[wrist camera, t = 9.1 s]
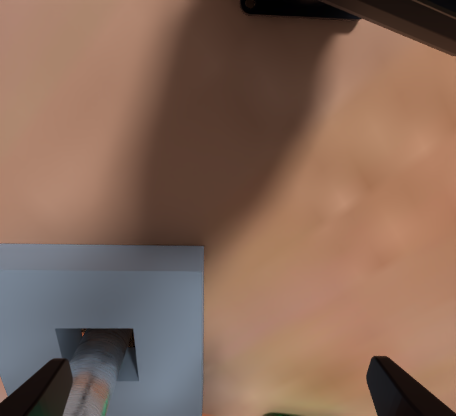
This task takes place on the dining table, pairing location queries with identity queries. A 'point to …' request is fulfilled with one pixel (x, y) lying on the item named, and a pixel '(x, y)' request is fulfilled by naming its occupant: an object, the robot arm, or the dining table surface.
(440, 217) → the dining table surface
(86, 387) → the pin
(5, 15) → the dining table surface
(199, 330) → the socket plate
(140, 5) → the dining table surface
